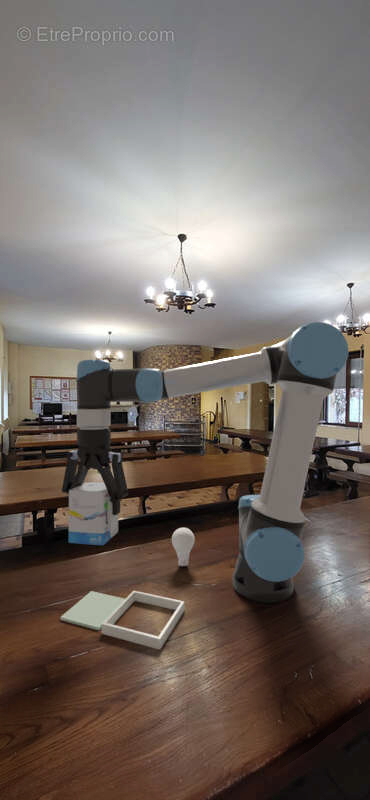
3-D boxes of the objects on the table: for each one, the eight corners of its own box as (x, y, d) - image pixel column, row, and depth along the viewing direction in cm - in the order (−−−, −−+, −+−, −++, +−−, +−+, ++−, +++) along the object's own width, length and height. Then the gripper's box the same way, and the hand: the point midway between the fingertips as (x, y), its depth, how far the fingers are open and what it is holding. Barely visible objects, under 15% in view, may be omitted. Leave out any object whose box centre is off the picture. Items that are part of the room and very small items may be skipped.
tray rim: (184, 610, 77) (184, 601, 77) (160, 649, 65) (159, 639, 65) (133, 598, 82) (133, 590, 82) (101, 633, 70) (101, 623, 70)
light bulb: (168, 569, 96) (167, 530, 97) (177, 559, 103) (177, 523, 103) (189, 573, 94) (189, 533, 94) (198, 563, 100) (197, 525, 100)
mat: (126, 601, 81) (126, 599, 81) (98, 630, 71) (98, 627, 71) (91, 593, 85) (91, 591, 85) (60, 619, 74) (60, 617, 74)
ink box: (103, 546, 73) (103, 491, 73) (67, 543, 74) (67, 490, 75) (119, 531, 81) (118, 482, 81) (86, 529, 83) (86, 481, 83)
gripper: (143, 427, 78) (144, 526, 77) (66, 425, 85) (67, 515, 85) (126, 430, 71) (127, 538, 70) (44, 428, 78) (44, 525, 78)
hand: (94, 525), depth 78 cm, fingers closed on ink box, 9 cm apart
